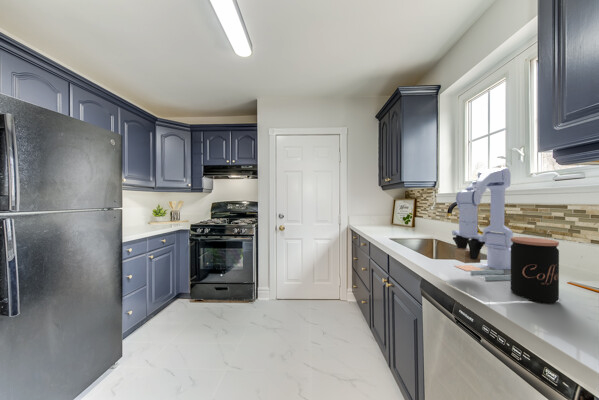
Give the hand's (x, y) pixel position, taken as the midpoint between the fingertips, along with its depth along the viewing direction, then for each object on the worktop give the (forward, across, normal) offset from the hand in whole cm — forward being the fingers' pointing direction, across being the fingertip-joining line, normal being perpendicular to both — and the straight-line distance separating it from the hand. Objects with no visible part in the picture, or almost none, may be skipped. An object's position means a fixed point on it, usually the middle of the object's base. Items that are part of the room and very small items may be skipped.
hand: (468, 257), depth 90 cm
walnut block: (+2, 0, 0) cm, 2 cm away
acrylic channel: (+8, 0, +11) cm, 14 cm away
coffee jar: (+9, +17, +7) cm, 21 cm away
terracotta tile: (+8, -11, +9) cm, 17 cm away
